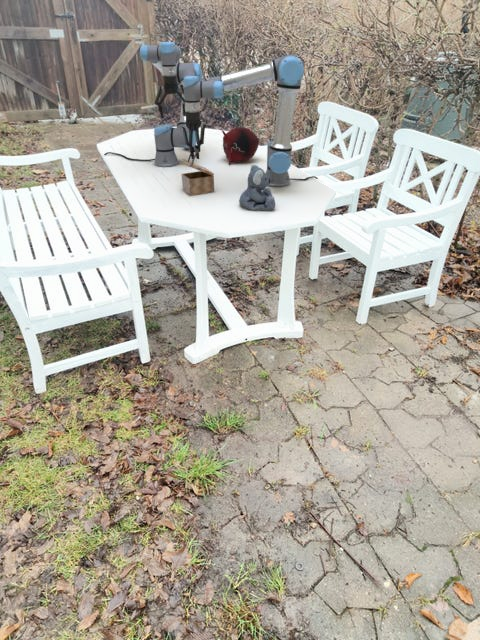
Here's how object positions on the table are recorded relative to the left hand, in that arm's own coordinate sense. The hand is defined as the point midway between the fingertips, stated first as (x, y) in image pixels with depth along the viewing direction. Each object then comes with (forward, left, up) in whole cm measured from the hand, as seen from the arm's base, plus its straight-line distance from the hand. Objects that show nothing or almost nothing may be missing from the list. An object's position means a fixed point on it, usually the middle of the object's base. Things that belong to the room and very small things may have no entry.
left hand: (173, 117), depth 258 cm
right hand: (+33, -14, -15) cm, 39 cm away
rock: (-38, +43, -32) cm, 66 cm away
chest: (+33, -14, -32) cm, 48 cm away
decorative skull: (+8, +47, -32) cm, 58 cm away
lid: (+33, -14, -20) cm, 41 cm away
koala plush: (+73, -10, -32) cm, 80 cm away
